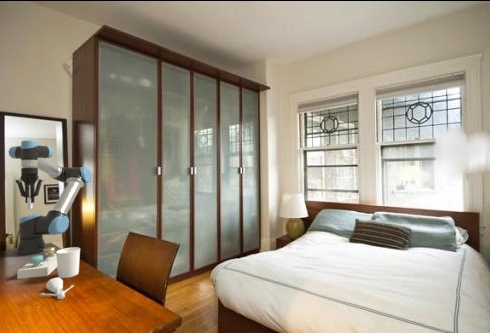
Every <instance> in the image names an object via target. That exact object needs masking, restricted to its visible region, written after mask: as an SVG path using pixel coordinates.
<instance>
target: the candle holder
mask: <svg viewBox="0 0 490 333" xmlns="http://www.w3.org/2000/svg"><path fill="white" fill-rule="evenodd" d="M55 254H56V256H57V267H56V269H57V278H61V279H69V278H73V277H75V276H78V275H79V272H80V257H81V256H80V255H81V248H80V247H78V246H77V247H75V246H73V247H66V248H60V249H58V250H56V251H55Z"/></svg>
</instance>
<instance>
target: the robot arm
mask: <svg viewBox="0 0 490 333" xmlns="http://www.w3.org/2000/svg"><path fill="white" fill-rule="evenodd" d="M8 155H9V157H10V158H12V159H17V160H18V159H20V162H21V163H20V167H21V168H20V173H21V174H20V175H21V176H20V178H18V179H16V180H15V183H16V184H17V186H18V190H19V193H20V197H23V198H25V200H24V202H25V204H27V206H26V207H27V208H26V209H27V210H32V209H33V207H34V206H33V205H34V204H33V203H35V197H38V196H39V193H40V190H41V187H42V183H43V182H44V179H43V178H40V177H39V171H41V172H44V173H46V174H47V175H48V177H50V178H52V179H53V180H56V181H58V182H61V183H64V184H65V187H64V188H63V190H62V192H61V194H60V196H59V197H58V199H57V201H56V203H55V205H54V207H53V209H50V210H49V211H48V212H47V213H46V215H44V214H43V213H36V214H35V213H34V214H31V215H25V216H21V217H20V218H19V221H18V222H19V224H18V228H19V229H18V230H19V233H18V235H19V236H18V237H19V242H18V243H17V247H16V249H15V254H16V256H17V255H19V256H22V255H23V256H27V255H33V254H37V253H39V252H44V248H47V245H46V242H45V239H44V235H51V236H53V235H54V236H55V235H62V234H64V233H65V232H66V231H67V230H68V228H69V225H70V224H69V223H70V220H69V216H68V212H69V211H70V209H71V207H72V205H73V203H74V201H75V198H77V195H78V193H79V191H80V189H81V188H83V187H84V186H85V184H88V183H90V182H91V181H92V172H91V171H90V170H91V169H89V168H88V167H85V166H80V167H74V166H72V167H63V166H60V165H57V164H55V163H53V162H51V161H49V160H48V159H50V158H52V157H53V155H54V149H53V148H52V146H51V147H50V146H47V145H39V144H38V141H37V140H22V141H21V142H20V145H16V146H11V147H10V148H9V150H8ZM36 182H37V183H36ZM23 183H24V185H23ZM35 186H36V187H35Z"/></svg>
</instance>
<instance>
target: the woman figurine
mask: <svg viewBox="0 0 490 333" xmlns="http://www.w3.org/2000/svg"><path fill="white" fill-rule="evenodd" d="M74 286H75V285H74V284H73V285H72V284H71V286H70V287H68V288H67V289H65V290H63V288H64V280H63V278H59V277H54V278H50V279H49V280H48V281H47V282H46V284H45V287H46V290H48V291H50V292H52V293H44V292H42V293H40V294H39V295H40V296H48V297H49V296H53V297H57V300H63V299H64V298H66V295H65V294H66V293H67V292H68V291H69V290H70V289H72V288H74Z"/></svg>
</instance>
